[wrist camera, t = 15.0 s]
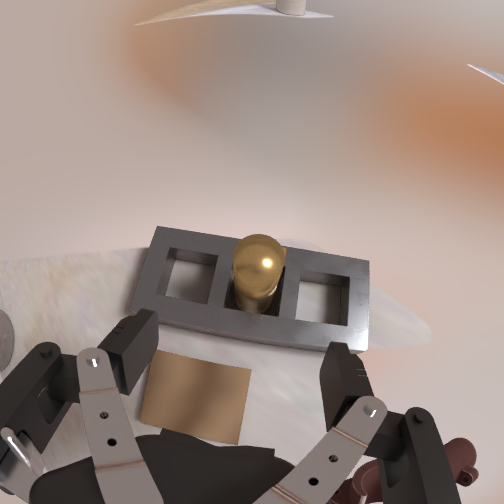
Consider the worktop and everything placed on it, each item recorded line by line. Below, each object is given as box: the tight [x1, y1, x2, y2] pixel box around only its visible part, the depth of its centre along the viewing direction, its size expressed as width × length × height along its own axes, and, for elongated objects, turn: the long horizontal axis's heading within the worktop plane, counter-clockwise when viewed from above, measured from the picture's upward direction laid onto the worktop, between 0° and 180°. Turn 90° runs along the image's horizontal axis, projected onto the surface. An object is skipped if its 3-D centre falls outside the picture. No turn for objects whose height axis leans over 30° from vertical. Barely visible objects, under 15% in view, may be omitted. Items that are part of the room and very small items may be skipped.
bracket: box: [329, 438, 479, 504], centre depth 17 cm, size 6×17×10 cm, turn 95°
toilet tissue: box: [276, 0, 307, 15], centre depth 77 cm, size 11×12×10 cm
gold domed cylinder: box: [233, 234, 285, 314], centre depth 27 cm, size 4×4×10 cm
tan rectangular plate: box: [140, 349, 251, 445], centre depth 26 cm, size 10×8×1 cm
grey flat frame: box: [130, 226, 369, 354], centre depth 30 cm, size 24×10×3 cm, turn 80°
